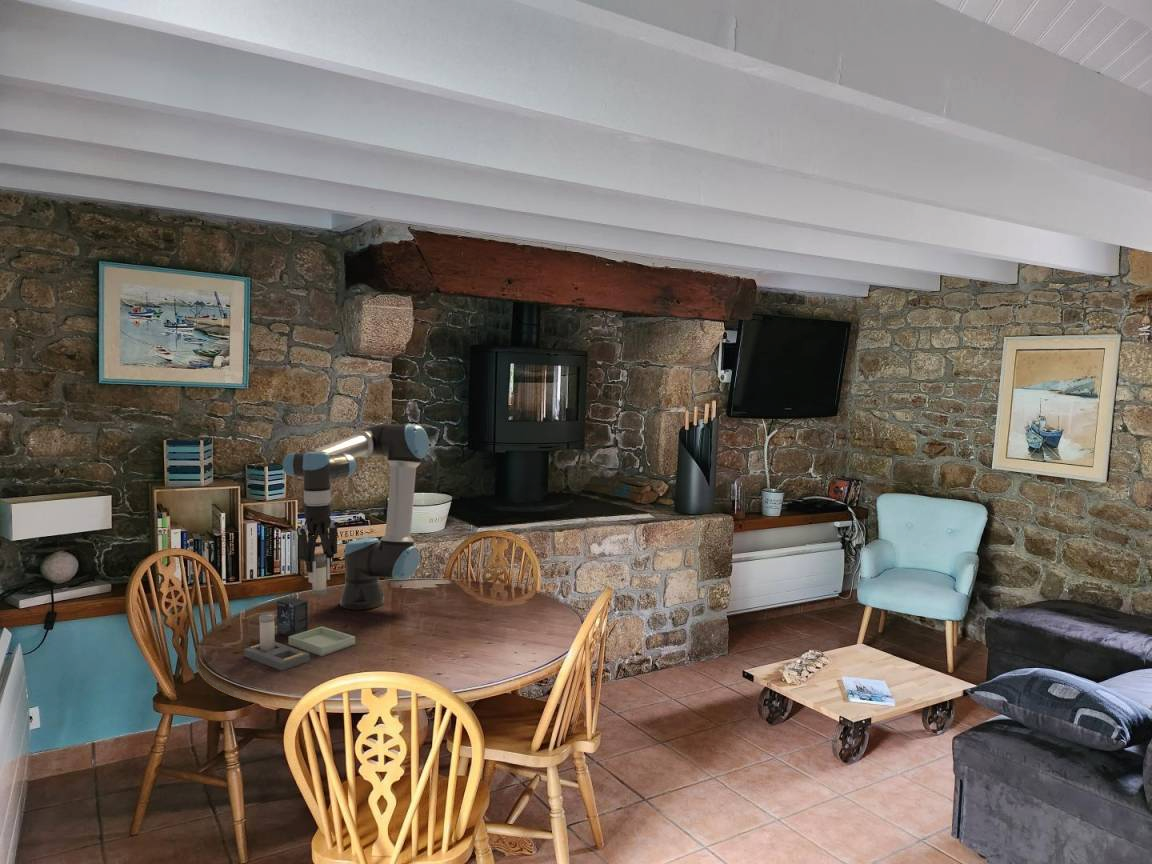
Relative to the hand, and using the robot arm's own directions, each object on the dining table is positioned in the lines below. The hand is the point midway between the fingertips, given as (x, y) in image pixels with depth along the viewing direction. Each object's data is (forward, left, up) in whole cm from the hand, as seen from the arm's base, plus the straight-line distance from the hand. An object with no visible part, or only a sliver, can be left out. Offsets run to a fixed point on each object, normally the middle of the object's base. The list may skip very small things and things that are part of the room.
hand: (319, 580), depth 232 cm
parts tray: (-1, 0, -20) cm, 20 cm away
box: (-2, -16, -20) cm, 26 cm away
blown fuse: (0, 0, -4) cm, 4 cm away
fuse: (+14, -5, -20) cm, 25 cm away
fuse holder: (+14, -1, -20) cm, 24 cm away
